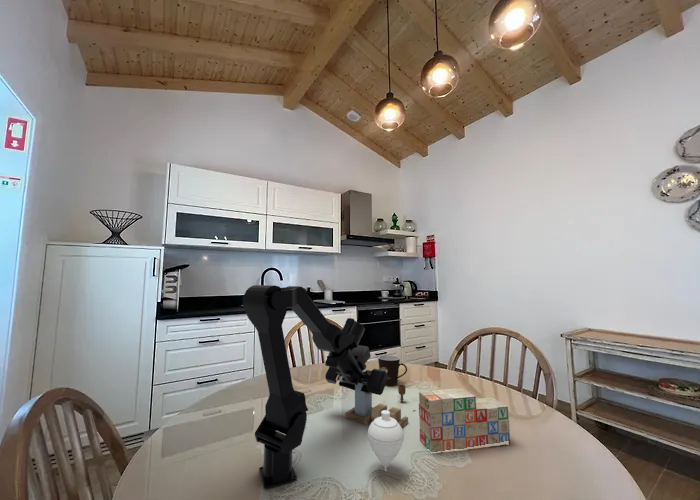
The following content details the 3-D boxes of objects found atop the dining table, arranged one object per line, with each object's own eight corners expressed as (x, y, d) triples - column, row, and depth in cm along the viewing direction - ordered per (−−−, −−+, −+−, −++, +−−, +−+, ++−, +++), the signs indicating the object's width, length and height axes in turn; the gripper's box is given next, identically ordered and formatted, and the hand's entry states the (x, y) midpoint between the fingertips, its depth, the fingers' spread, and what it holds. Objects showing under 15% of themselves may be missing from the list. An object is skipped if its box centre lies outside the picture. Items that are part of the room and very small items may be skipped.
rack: (395, 434, 79) (395, 428, 79) (345, 418, 88) (345, 412, 88) (408, 422, 85) (408, 417, 85) (359, 408, 94) (359, 403, 94)
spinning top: (400, 460, 67) (399, 404, 68) (407, 483, 59) (407, 419, 61) (365, 460, 67) (366, 404, 68) (369, 483, 59) (369, 419, 60)
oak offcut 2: (393, 430, 81) (393, 415, 81) (385, 428, 82) (385, 412, 82) (401, 423, 85) (400, 408, 85) (393, 421, 86) (393, 406, 86)
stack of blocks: (493, 433, 80) (491, 385, 81) (510, 446, 74) (508, 393, 75) (419, 441, 75) (418, 390, 77) (430, 455, 69) (429, 399, 71)
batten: (364, 420, 86) (365, 375, 88) (354, 417, 88) (355, 373, 90) (371, 415, 89) (371, 372, 91) (361, 412, 91) (362, 370, 93)
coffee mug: (374, 381, 120) (374, 356, 121) (392, 379, 124) (392, 354, 125) (389, 391, 110) (389, 363, 111) (409, 388, 113) (408, 361, 114)
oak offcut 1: (378, 426, 83) (378, 411, 83) (371, 423, 84) (371, 409, 85) (387, 419, 87) (387, 405, 88) (379, 417, 88) (379, 403, 89)
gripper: (385, 341, 83) (401, 373, 91) (331, 334, 93) (351, 363, 101) (370, 378, 76) (390, 409, 83) (314, 366, 86) (336, 394, 94)
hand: (365, 391), depth 91 cm, fingers closed on batten, 3 cm apart
